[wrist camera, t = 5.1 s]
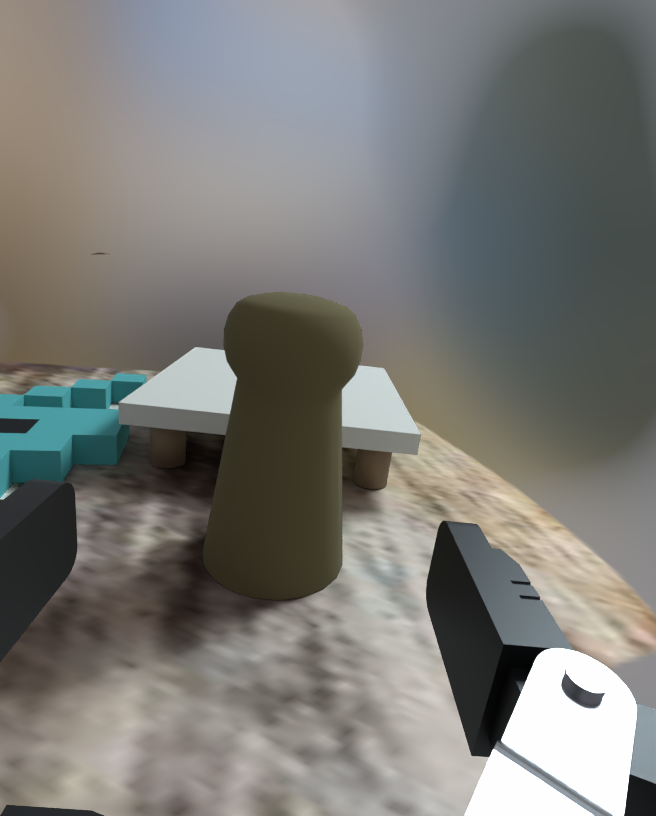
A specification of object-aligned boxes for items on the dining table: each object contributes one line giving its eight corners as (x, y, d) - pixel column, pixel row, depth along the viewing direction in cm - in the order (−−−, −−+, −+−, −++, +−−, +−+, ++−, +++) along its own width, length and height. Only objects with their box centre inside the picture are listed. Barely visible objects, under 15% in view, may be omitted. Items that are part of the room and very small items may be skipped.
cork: (301, 622, 17) (339, 311, 14) (170, 563, 19) (176, 284, 16) (363, 543, 22) (401, 304, 19) (254, 503, 25) (272, 284, 21)
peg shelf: (119, 472, 26) (118, 402, 25) (194, 392, 41) (195, 347, 40) (408, 500, 27) (420, 434, 26) (377, 412, 42) (384, 368, 41)
